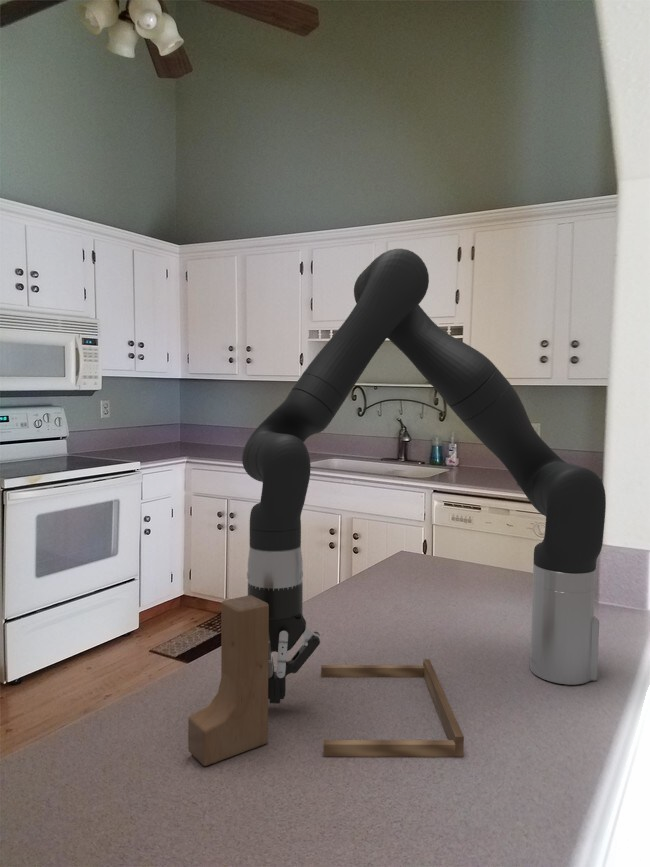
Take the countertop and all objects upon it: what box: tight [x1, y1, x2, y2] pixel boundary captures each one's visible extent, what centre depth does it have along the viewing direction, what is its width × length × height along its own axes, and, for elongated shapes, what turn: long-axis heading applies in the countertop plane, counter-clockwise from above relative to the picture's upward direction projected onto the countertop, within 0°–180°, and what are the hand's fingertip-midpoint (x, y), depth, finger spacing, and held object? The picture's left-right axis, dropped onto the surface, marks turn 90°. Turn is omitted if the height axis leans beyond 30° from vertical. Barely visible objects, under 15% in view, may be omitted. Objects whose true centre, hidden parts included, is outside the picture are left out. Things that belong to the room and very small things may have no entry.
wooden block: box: [187, 594, 269, 767], centre depth 79 cm, size 9×4×18 cm, turn 127°
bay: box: [320, 658, 465, 758], centre depth 90 cm, size 17×23×2 cm
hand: (275, 700), depth 90 cm, fingers closed
